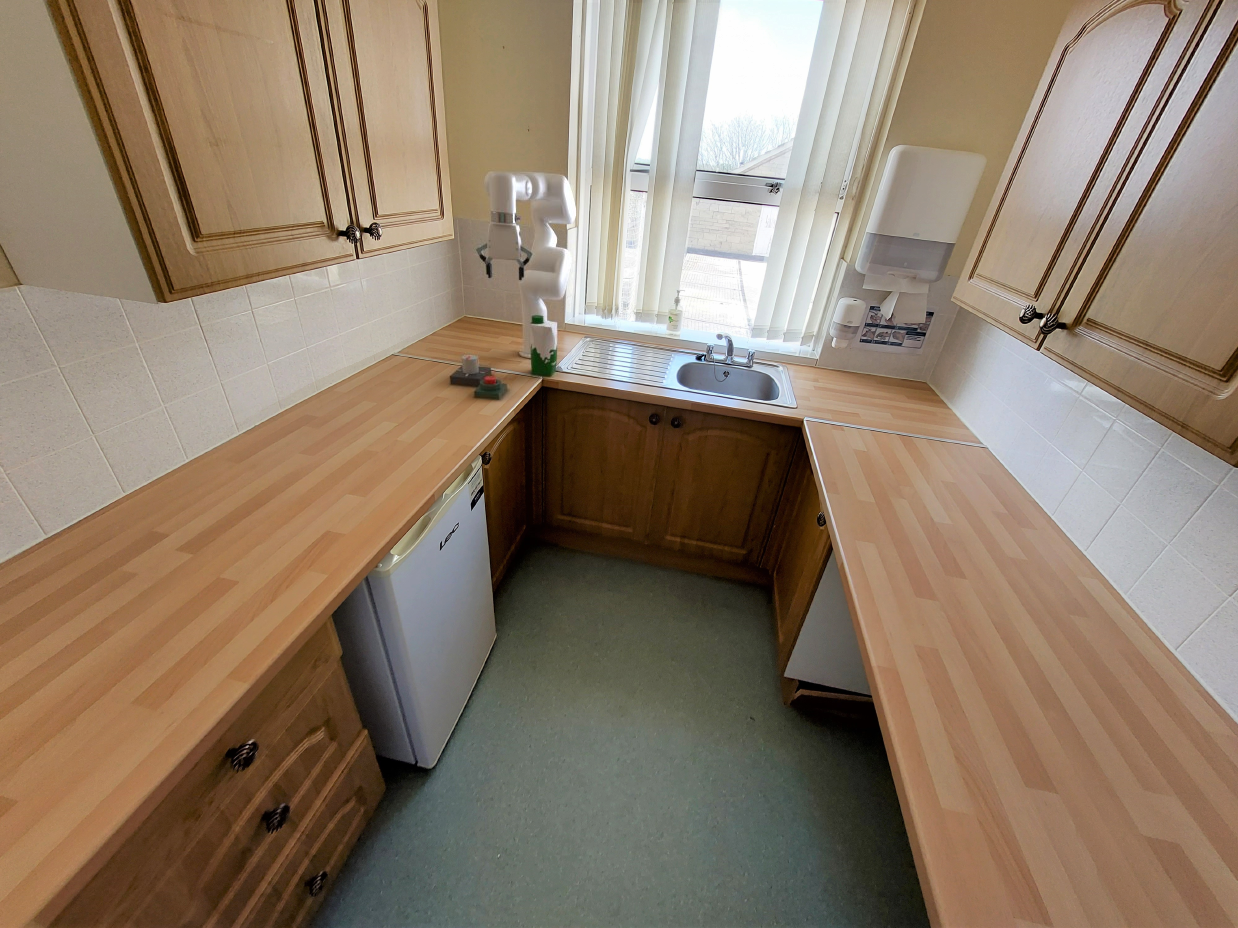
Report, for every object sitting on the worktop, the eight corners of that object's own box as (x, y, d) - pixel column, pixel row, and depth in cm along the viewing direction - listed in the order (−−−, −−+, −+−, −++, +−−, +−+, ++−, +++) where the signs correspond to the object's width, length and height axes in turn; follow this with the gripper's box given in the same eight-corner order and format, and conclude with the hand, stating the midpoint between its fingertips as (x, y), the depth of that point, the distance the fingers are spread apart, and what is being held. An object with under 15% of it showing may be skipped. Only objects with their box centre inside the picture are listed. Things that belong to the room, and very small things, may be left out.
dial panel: (463, 372, 170) (462, 364, 169) (491, 375, 170) (490, 366, 169) (450, 384, 160) (449, 375, 158) (480, 387, 160) (479, 378, 158)
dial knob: (466, 368, 166) (464, 353, 163) (480, 369, 166) (479, 354, 163) (460, 373, 161) (459, 357, 159) (475, 374, 161) (474, 359, 159)
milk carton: (535, 367, 181) (534, 313, 171) (559, 370, 180) (559, 315, 170) (528, 375, 173) (526, 318, 163) (552, 378, 172) (552, 321, 162)
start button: (486, 380, 156) (486, 375, 155) (497, 381, 156) (497, 376, 155) (483, 384, 153) (482, 379, 152) (494, 385, 153) (494, 380, 152)
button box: (483, 387, 160) (482, 376, 158) (507, 389, 160) (506, 378, 158) (474, 397, 152) (473, 385, 150) (499, 400, 152) (498, 388, 150)
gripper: (533, 221, 151) (533, 279, 159) (477, 216, 149) (480, 275, 157) (530, 222, 144) (531, 282, 152) (471, 217, 143) (475, 278, 151)
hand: (505, 278), depth 155 cm, fingers open, 9 cm apart
